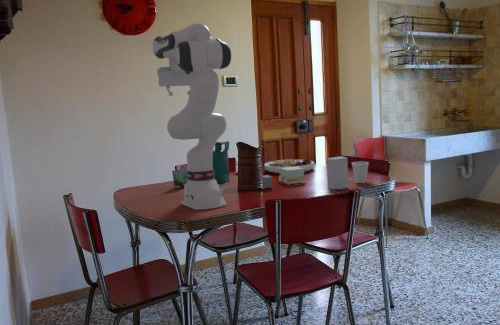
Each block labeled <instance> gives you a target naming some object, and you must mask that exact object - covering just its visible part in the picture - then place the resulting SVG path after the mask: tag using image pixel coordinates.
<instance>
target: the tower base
mask: <svg viewBox="0 0 500 325" xmlns="http://www.w3.org/2000/svg"><path fill="white" fill-rule="evenodd" d="M279 181H281V182H284V183H287V184H290V183H298V182H305V183H306V176H305V175H304V176H303V177H295V178H286V177H283V176H281V175H278V182H279Z"/></svg>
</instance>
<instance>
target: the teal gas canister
mask: <svg viewBox="0 0 500 325" xmlns="http://www.w3.org/2000/svg"><path fill="white" fill-rule="evenodd" d="M223 145H224V148H222V147H223ZM229 149H230V141H229V140H228V141H216V143H215V145H214V149H213V156H212V162H213V169H214V173H215V180H216V181H217V184H224V183H226V182H230V169H229V168H230V167H229V153H228V151H229Z"/></svg>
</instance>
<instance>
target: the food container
mask: <svg viewBox="0 0 500 325" xmlns="http://www.w3.org/2000/svg"><path fill="white" fill-rule="evenodd" d="M187 171H188V167H187V166H180V167H179V168H178V169H176V170H172V173H171V174H172V179H173V188H174V190H182V189H184V185H185V184H186V183H187V181H188V179H187Z"/></svg>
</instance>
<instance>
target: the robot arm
mask: <svg viewBox="0 0 500 325" xmlns="http://www.w3.org/2000/svg"><path fill="white" fill-rule="evenodd" d="M211 36H212V35H211V32H210V30H209V28H208V27H207V26H206V25H204V24H203V23H192V24H190V25H188V26H186V27H184V28H183V29H180V30H178V31H177V30H176V31H172V32H170V33H169V34H168V35H165V36H163V35H162V36H161V35H158V36H156V37H155V38H154V39H153V41H152V52H153V56H155V57H156V58H157V59H159V60H160V59H162V60H163V59H168V66H161V67H159V68H157V71H156V72H157V76H158V86H159V87H165V89H166V90H167V92H168V96H169V97H171V96H173V95H174V94H173V91H171V87H186V86H187V87H189V90H187V95H188V100H187V103H186V105H185V106H184V108H182V109H181V111H179V112H178V113H176V114H174V115H172V116H171V117H170V118H169V120H168V122H167V126H166V128H167V132H168V134H169V137H170V138H172V139H173V140H182V141H185V140H197V139H198V142H197V143H196V145H195V146H193V147H192V148H190V149H189V150H188V152H187V153H186V163H187V166H186V167H187V169H188V171H187V183H186V184H185V185H184V188H183V189H184V190H183V191H184V200H181V201H180V202H181V205H183V206H186V207H188V208H190V209H192V210H198V211H199V210H201V211H202V210H210V209H211V210H212V209H217V208H222V207H225V206H227V202H226V201H225V199H224V197H223V196H222V194H224V190H223V187H222V188H221V186H220V184H219V183H217V181H216V180H215V173H214V169H213V162H212V156H213V151H214V149H215V143H216V142H218V140H219V139H220V138H221V136H223V134H224V133H225V132H226V129H227V120H226V118H225V116H223V114H222V113H217V112H214V111H215V108H216V103H217V99H218V95H219V87H220V85H219V84H220V80H219V75H218V73H217V72H216V71H215V70H223V69H226V68H228V67H229V66H230V64H231V62H232V52H231V47H230V45H229V44H228V43H226V42H224V41H222V40H220V38H218V37H217V38H216V39H213V38H212V37H211Z"/></svg>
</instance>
